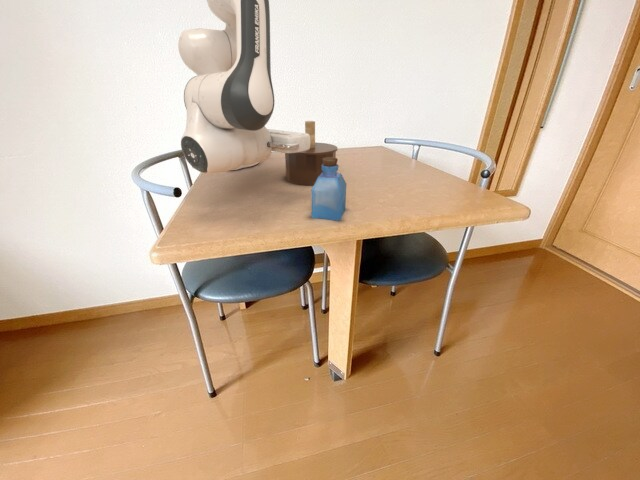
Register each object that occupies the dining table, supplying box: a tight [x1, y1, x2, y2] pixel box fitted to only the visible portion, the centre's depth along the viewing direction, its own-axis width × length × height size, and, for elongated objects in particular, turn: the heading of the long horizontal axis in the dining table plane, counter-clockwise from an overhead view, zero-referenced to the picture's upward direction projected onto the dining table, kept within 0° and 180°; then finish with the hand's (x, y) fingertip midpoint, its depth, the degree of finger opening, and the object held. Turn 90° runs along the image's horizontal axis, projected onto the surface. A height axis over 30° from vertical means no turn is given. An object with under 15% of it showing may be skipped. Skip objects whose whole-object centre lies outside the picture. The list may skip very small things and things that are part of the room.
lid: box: [290, 120, 338, 155], centre depth 84 cm, size 16×16×8 cm
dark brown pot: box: [284, 151, 337, 186], centre depth 88 cm, size 15×15×8 cm
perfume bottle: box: [311, 157, 347, 222], centre depth 63 cm, size 6×6×12 cm
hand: (290, 134), depth 77 cm, fingers open, 8 cm apart
